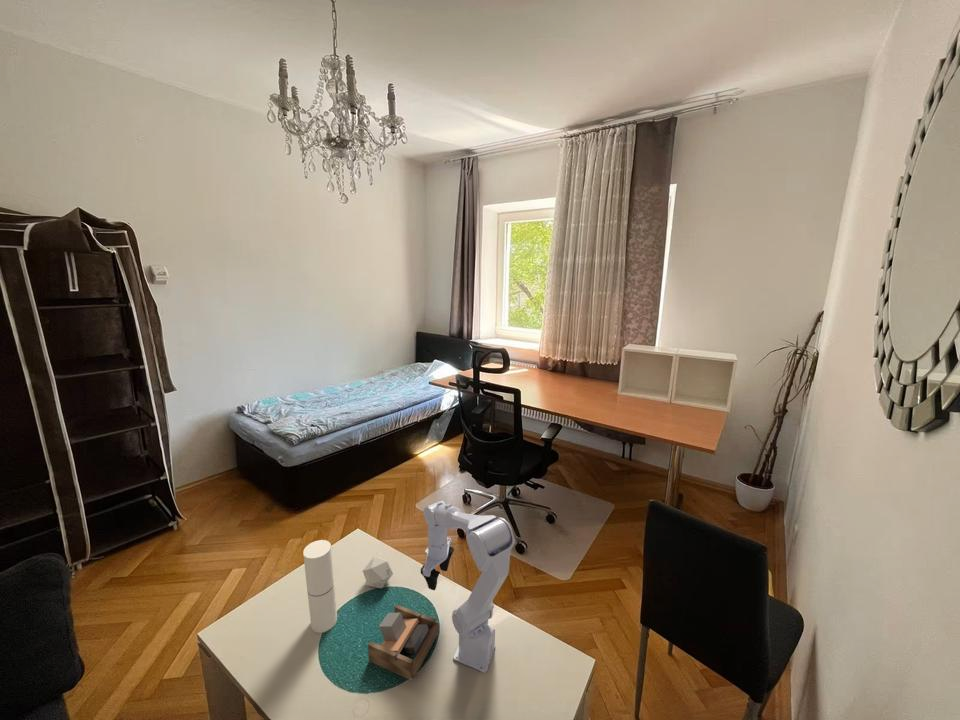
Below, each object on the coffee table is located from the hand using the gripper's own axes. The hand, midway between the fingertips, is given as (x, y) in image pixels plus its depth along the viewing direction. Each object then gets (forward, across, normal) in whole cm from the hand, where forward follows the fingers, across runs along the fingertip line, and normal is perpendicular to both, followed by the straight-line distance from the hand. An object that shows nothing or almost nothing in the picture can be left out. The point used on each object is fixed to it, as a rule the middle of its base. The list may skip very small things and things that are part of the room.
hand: (438, 579), depth 113 cm
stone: (+7, +15, -5) cm, 17 cm away
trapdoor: (+8, +15, -2) cm, 17 cm away
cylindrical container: (+11, +17, -29) cm, 35 cm away
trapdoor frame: (+10, +15, -3) cm, 18 cm away
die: (+11, -1, -23) cm, 25 cm away
